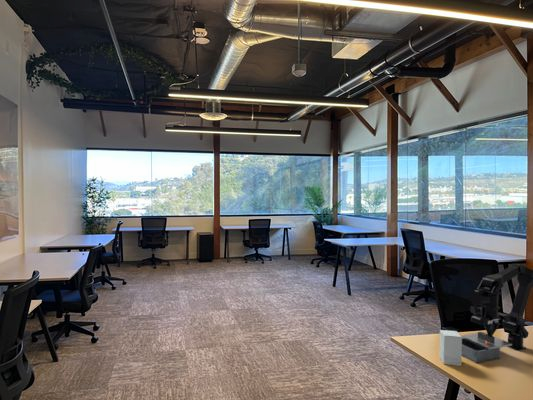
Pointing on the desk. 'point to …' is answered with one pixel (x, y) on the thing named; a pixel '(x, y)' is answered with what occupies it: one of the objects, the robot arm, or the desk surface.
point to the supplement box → (450, 347)
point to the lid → (486, 340)
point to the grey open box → (478, 352)
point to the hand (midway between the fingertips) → (489, 336)
